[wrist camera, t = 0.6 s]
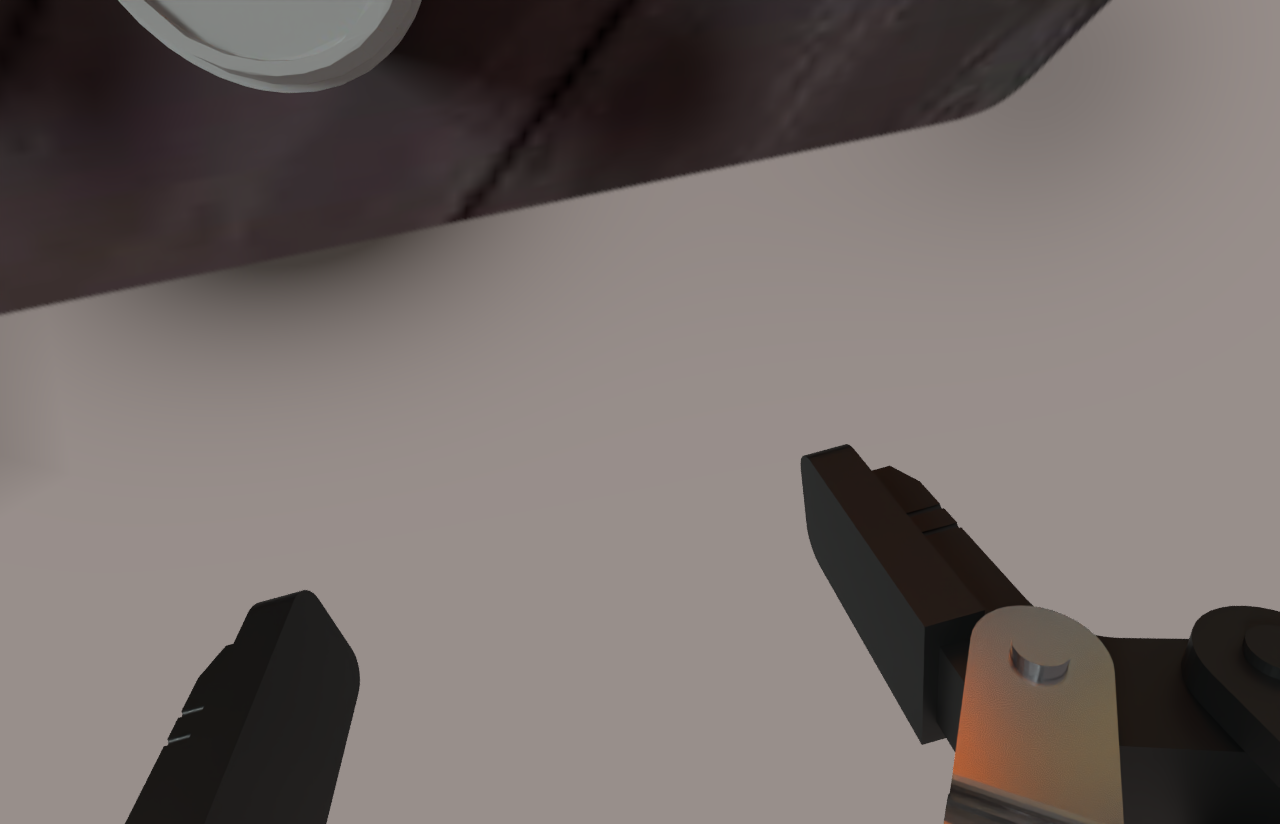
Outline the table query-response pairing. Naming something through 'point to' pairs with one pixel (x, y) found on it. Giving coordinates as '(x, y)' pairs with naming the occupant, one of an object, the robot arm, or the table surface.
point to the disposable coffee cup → (279, 37)
